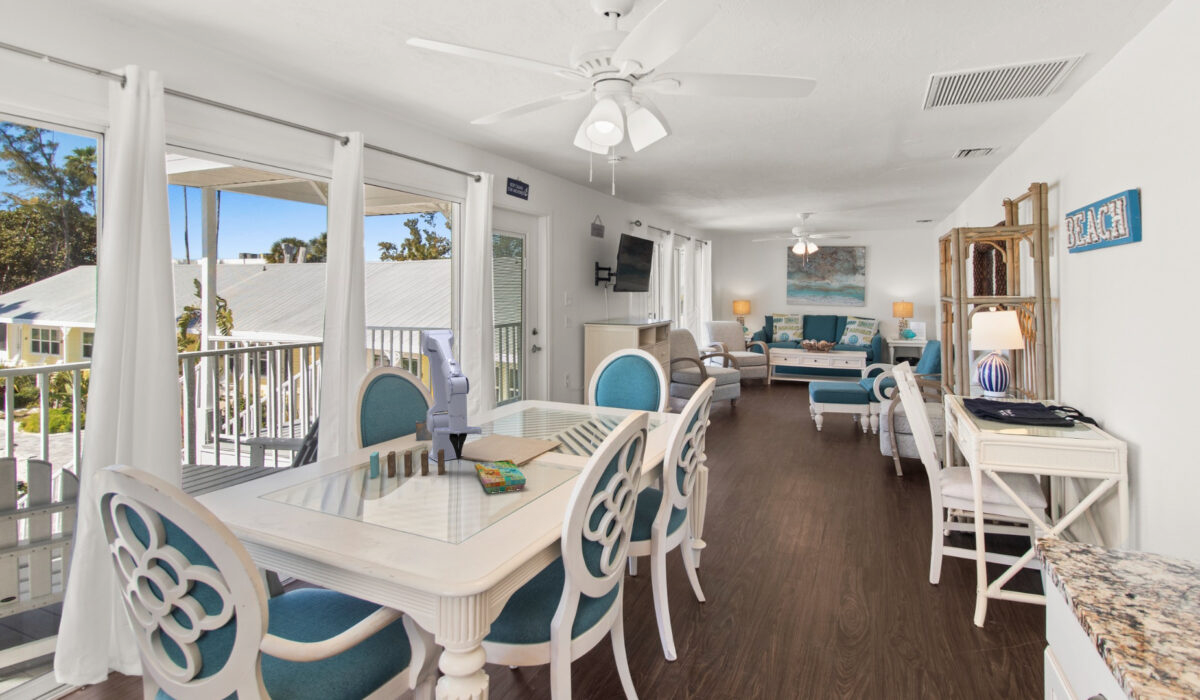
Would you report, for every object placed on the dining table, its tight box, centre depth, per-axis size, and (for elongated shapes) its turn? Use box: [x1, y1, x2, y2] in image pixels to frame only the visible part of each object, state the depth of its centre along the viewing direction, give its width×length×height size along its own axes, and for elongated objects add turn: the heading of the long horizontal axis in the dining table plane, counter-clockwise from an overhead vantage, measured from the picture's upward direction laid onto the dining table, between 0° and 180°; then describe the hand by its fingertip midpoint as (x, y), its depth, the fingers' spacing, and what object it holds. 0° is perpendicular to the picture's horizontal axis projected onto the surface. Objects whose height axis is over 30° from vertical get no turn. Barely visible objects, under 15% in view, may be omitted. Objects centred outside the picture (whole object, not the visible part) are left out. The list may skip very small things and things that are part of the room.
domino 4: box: [420, 449, 430, 477], centre depth 183 cm, size 2×4×7 cm, turn 9°
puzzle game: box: [474, 459, 527, 494], centre depth 176 cm, size 12×5×20 cm
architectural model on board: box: [415, 419, 432, 442], centre depth 225 cm, size 11×3×10 cm, turn 100°
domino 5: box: [437, 449, 446, 476], centre depth 184 cm, size 2×4×7 cm, turn 9°
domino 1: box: [369, 451, 381, 479], centre depth 181 cm, size 2×4×7 cm, turn 7°
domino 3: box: [403, 449, 413, 478], centre depth 183 cm, size 2×4×7 cm, turn 9°
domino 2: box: [386, 450, 397, 478], centre depth 182 cm, size 2×4×7 cm, turn 9°
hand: (458, 456), depth 185 cm, fingers closed
